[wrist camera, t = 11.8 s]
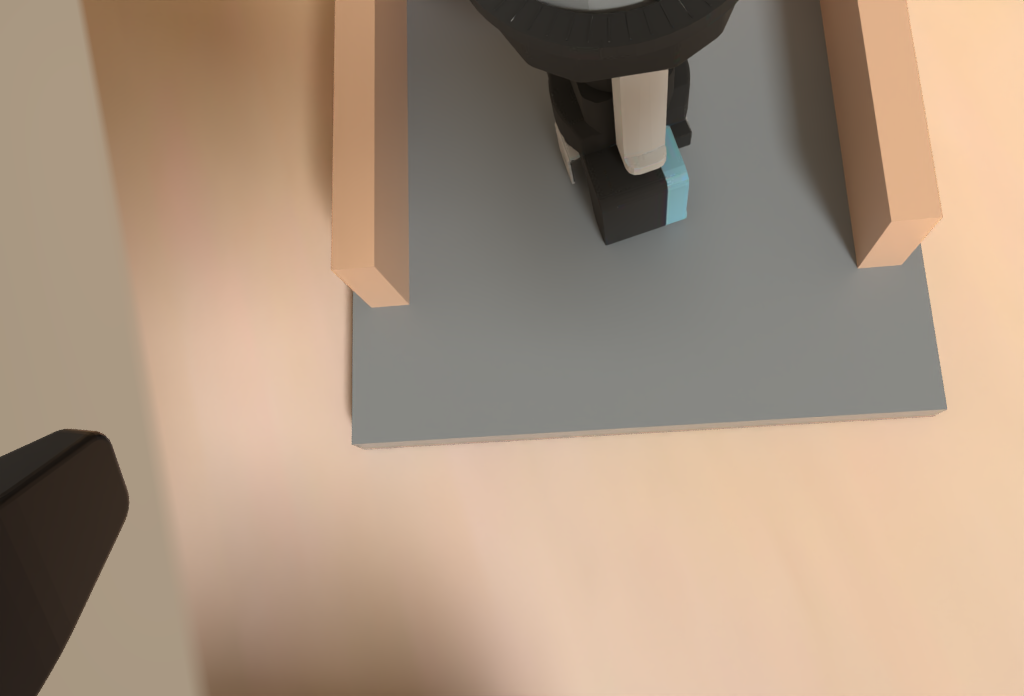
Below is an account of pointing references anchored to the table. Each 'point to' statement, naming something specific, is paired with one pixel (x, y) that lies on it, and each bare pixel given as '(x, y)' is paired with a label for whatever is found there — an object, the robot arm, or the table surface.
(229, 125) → the table surface
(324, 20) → the table surface
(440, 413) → the end holder
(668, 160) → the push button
